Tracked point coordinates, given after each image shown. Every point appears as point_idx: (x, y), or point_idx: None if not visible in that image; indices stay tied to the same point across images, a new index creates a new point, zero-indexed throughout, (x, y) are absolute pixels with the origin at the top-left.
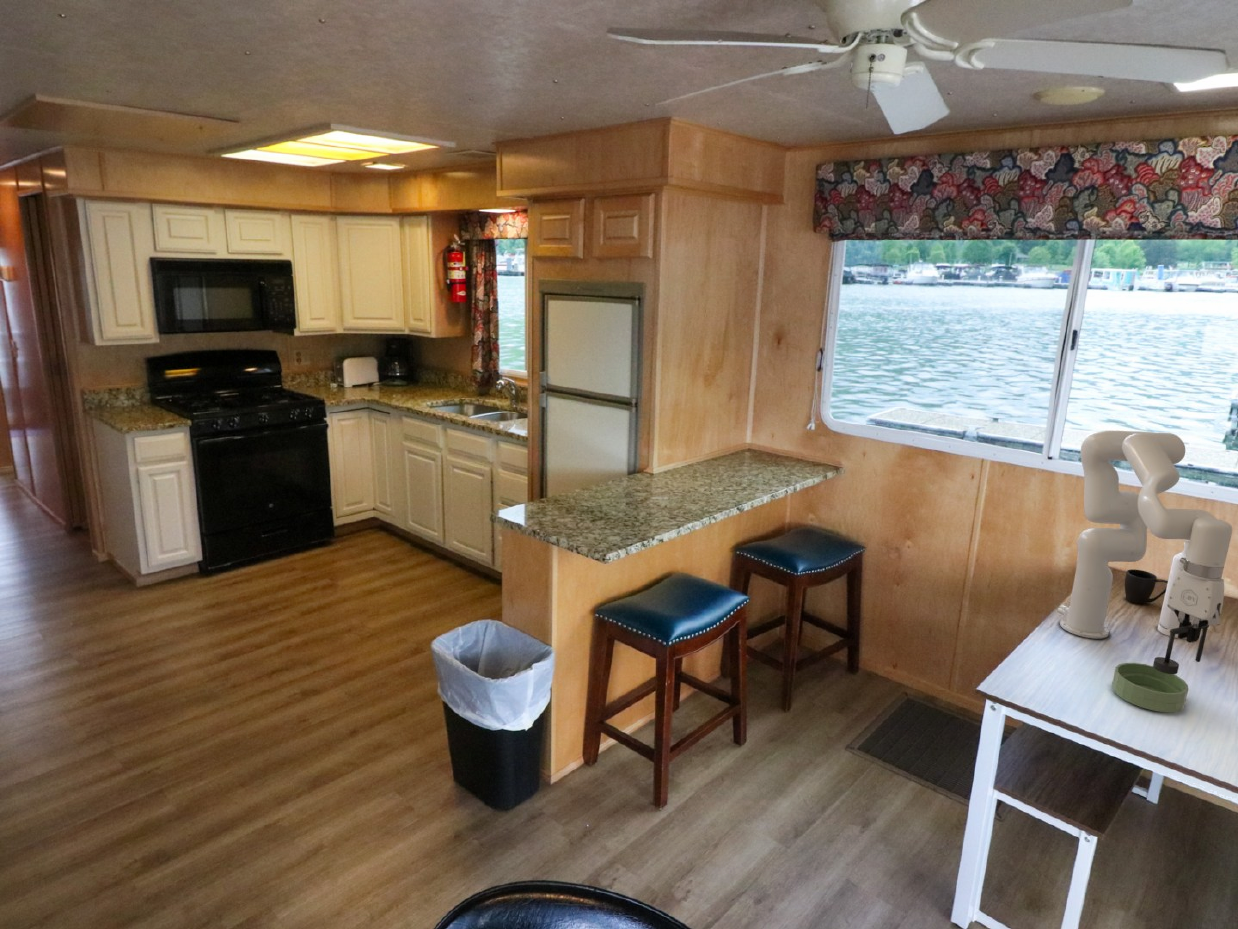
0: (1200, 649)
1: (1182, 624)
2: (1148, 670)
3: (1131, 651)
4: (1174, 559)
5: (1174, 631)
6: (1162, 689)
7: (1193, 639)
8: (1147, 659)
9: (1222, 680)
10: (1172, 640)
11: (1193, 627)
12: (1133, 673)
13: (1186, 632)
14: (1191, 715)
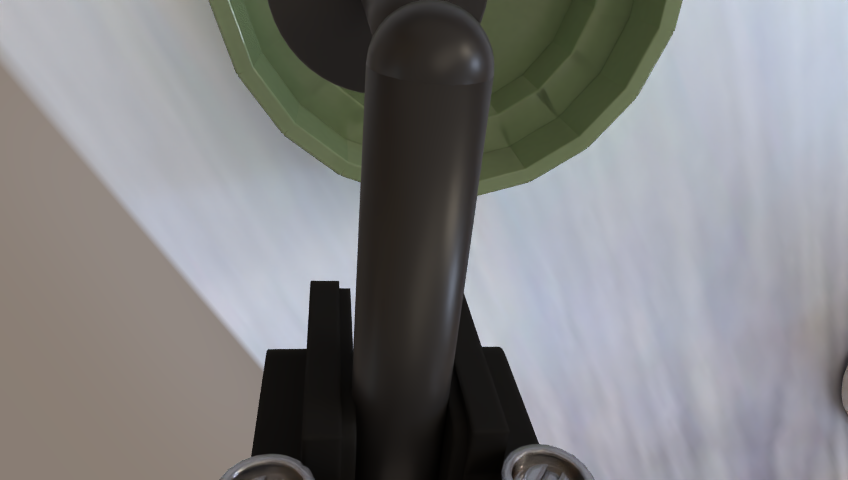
0: None
1: (475, 426)
2: (548, 139)
3: (717, 367)
4: None
5: (391, 34)
6: None
7: (293, 351)
8: (642, 365)
9: None
10: (381, 11)
11: (291, 463)
12: (594, 55)
13: None
14: (192, 15)
